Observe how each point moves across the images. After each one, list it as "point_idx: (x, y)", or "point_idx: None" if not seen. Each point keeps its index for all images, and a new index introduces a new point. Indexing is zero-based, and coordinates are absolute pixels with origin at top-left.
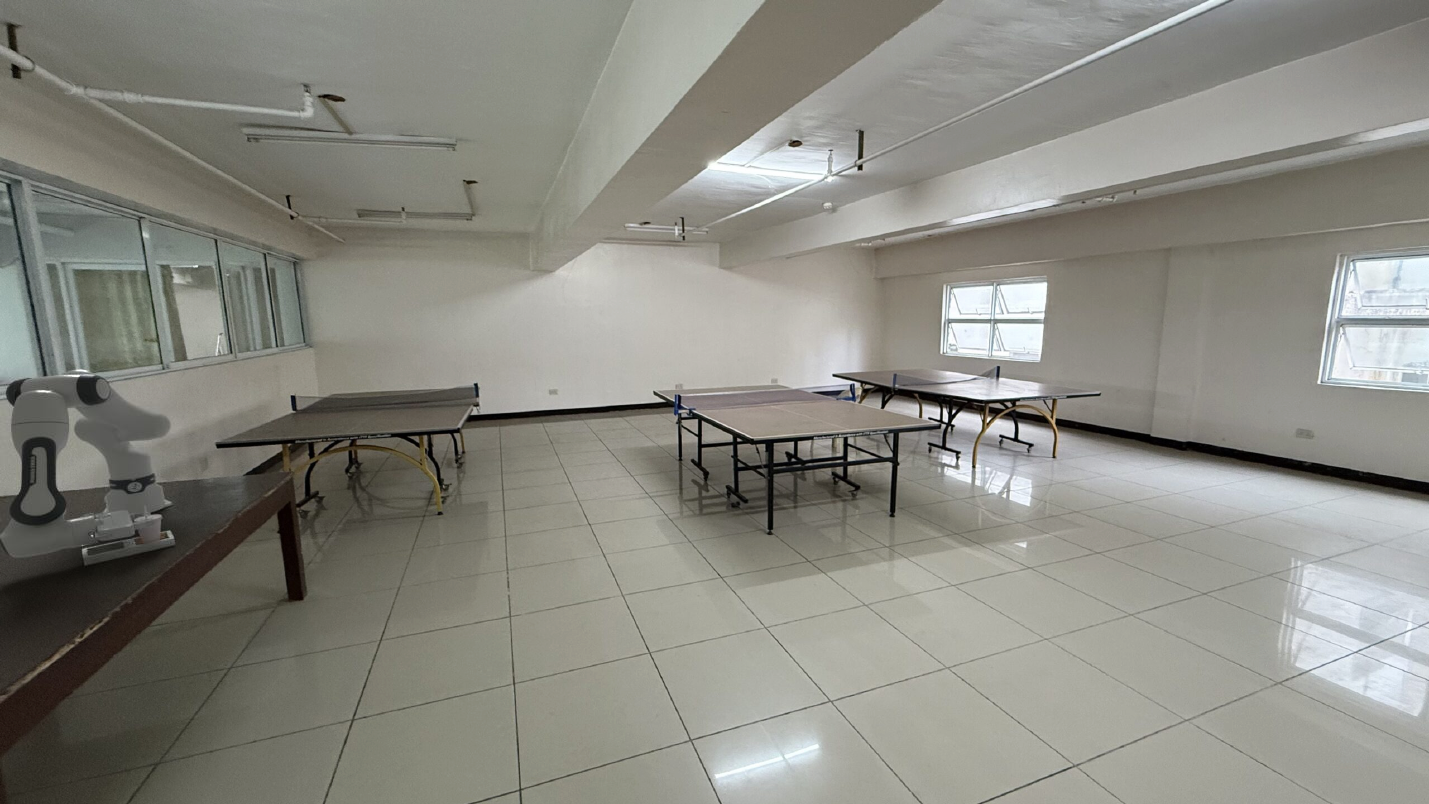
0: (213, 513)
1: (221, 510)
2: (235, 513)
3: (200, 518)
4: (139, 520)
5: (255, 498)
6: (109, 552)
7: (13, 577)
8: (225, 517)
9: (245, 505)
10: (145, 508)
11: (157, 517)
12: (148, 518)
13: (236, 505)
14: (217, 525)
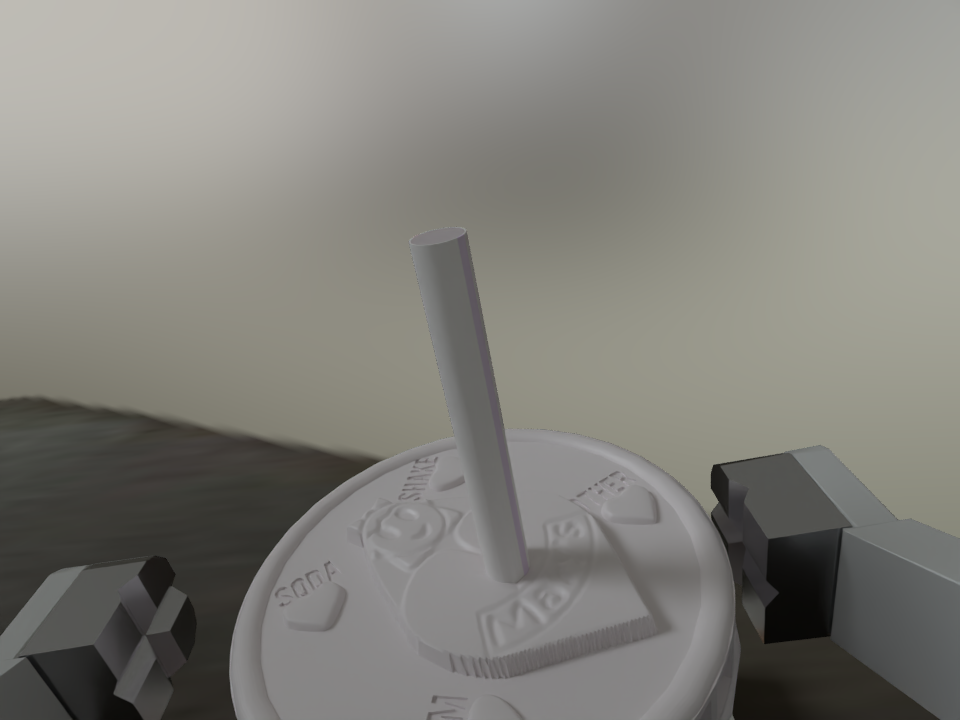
0: (22, 512)
1: (19, 485)
2: (186, 431)
3: (31, 564)
4: (568, 695)
5: (23, 399)
6: None
7: None
8: (207, 458)
9: (89, 415)
10: (479, 311)
11: (568, 454)
12: (591, 529)
13: (27, 442)
14: (345, 473)
